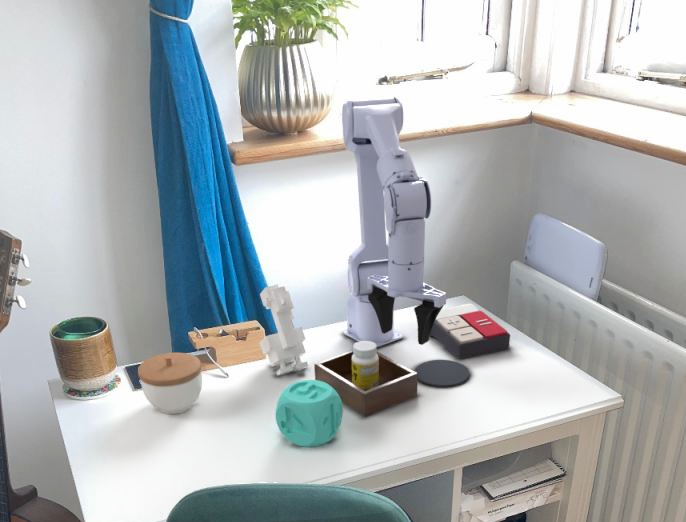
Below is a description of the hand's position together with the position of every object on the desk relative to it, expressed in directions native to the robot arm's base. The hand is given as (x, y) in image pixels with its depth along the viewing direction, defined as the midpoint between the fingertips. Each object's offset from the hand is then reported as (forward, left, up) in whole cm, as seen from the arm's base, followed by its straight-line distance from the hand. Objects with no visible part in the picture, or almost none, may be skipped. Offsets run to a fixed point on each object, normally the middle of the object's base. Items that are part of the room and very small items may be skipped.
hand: (404, 336), depth 136 cm
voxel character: (-21, -11, -10) cm, 26 cm away
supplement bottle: (-4, -5, -10) cm, 12 cm away
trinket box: (-21, -34, -10) cm, 42 cm away
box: (-4, -5, -10) cm, 12 cm away
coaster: (0, +9, -10) cm, 14 cm away
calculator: (-8, +23, -10) cm, 26 cm away
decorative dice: (+2, -21, -10) cm, 24 cm away
